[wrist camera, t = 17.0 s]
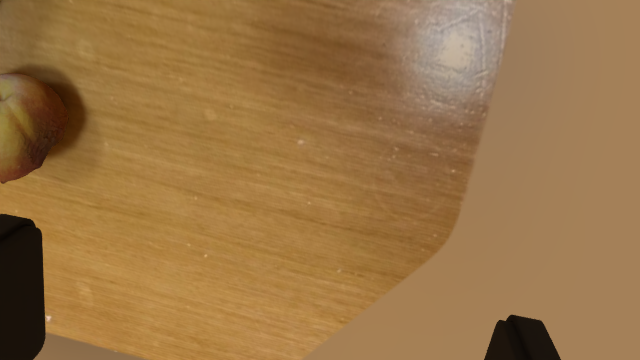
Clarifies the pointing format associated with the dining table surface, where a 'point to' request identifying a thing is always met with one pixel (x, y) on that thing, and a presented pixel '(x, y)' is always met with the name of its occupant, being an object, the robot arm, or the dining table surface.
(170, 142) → the dining table surface
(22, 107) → the fruit
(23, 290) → the robot arm
